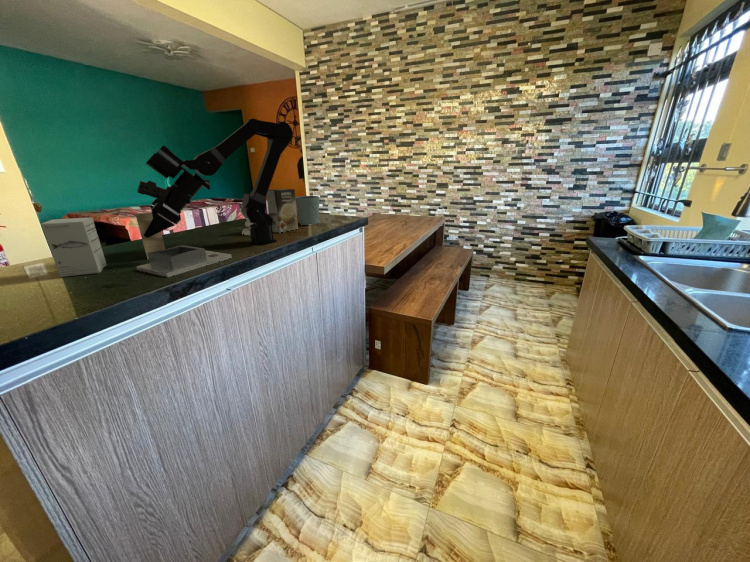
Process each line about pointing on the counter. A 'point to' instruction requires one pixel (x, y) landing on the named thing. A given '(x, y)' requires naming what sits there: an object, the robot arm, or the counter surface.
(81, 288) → the counter surface
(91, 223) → the supplement box
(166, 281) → the counter surface
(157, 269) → the socket plate
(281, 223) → the coffee box
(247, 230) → the hook
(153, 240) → the square peg
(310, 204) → the grey tapered cup
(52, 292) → the counter surface
